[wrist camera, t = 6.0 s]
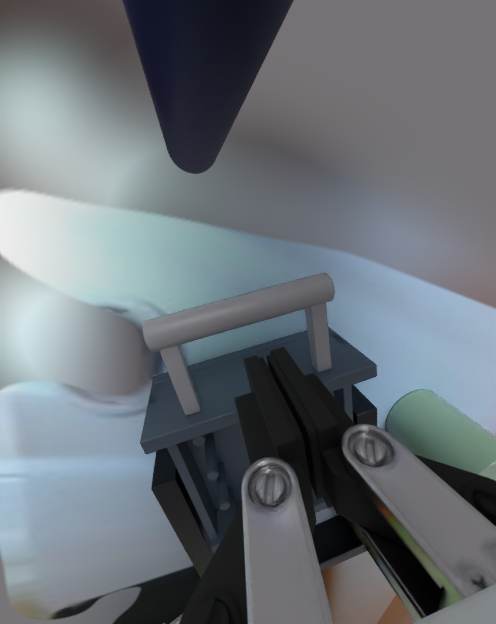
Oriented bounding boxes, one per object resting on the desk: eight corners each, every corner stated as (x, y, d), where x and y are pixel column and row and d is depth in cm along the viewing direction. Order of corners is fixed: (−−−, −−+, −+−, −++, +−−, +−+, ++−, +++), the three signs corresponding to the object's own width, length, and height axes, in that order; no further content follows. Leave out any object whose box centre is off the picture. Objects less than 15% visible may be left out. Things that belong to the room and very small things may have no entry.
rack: (121, 303, 14) (88, 346, 9) (319, 252, 16) (377, 267, 11) (210, 508, 21) (216, 590, 17) (338, 459, 23) (377, 522, 18)
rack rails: (156, 449, 19) (150, 489, 16) (352, 383, 21) (377, 408, 18) (217, 572, 26) (220, 615, 23) (358, 514, 28) (377, 546, 25)
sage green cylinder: (386, 400, 22) (466, 474, 16) (440, 381, 23) (537, 444, 17) (385, 444, 24) (455, 525, 18) (435, 425, 25) (519, 497, 19)
